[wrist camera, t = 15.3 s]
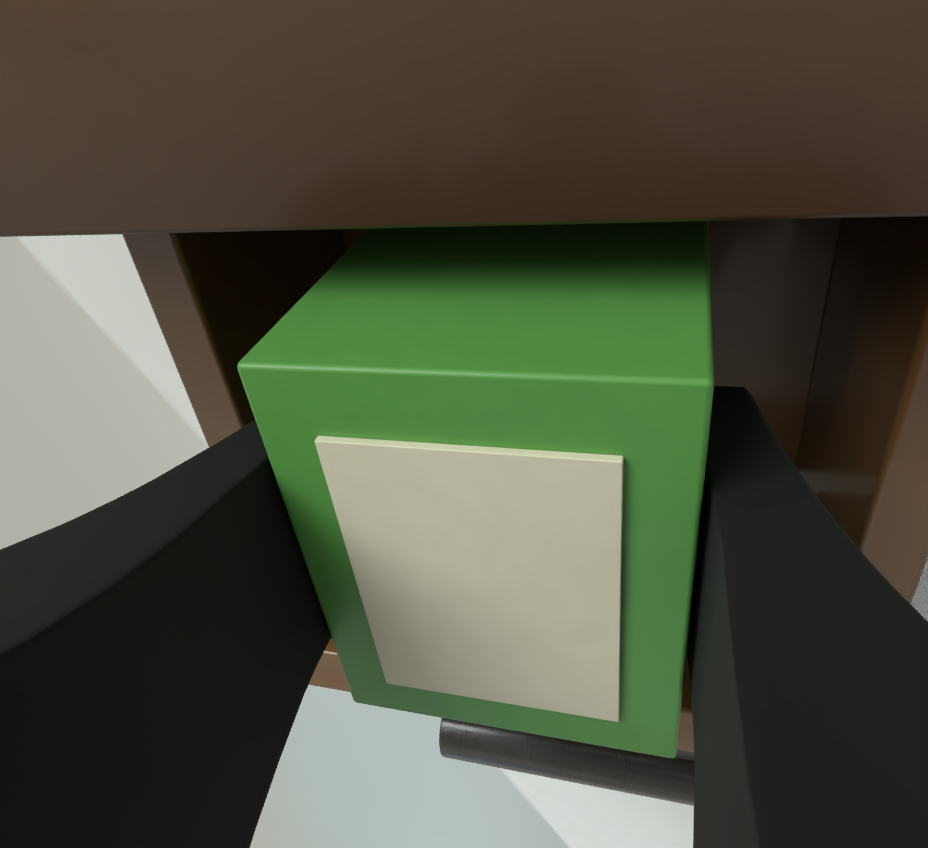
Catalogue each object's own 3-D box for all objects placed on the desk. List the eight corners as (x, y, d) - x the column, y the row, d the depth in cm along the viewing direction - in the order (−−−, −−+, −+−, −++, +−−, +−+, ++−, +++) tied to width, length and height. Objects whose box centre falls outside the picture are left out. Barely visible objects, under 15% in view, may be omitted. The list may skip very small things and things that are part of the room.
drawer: (808, 670, 18) (844, 920, 14) (399, 613, 22) (321, 802, 17) (1076, -344, 8) (1577, -659, 3) (199, -166, 11) (-143, -208, 7)
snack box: (708, 202, 9) (715, 388, 6) (681, 527, 12) (675, 769, 9) (382, 212, 10) (226, 369, 7) (436, 505, 13) (350, 710, 10)
